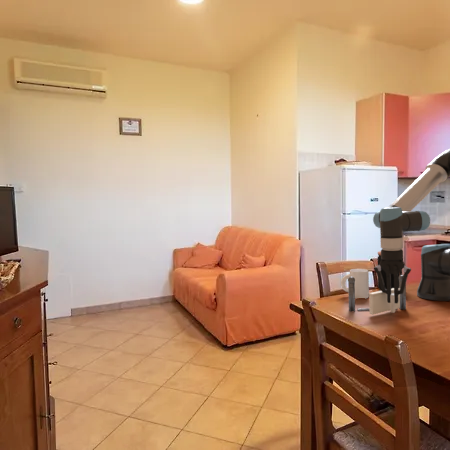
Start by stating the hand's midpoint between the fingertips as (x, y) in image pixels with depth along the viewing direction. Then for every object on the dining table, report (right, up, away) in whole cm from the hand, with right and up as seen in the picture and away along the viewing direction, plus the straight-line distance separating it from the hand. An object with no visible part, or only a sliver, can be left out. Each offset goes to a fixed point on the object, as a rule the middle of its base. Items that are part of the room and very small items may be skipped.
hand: (393, 311), depth 139 cm
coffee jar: (+16, +1, +39) cm, 42 cm away
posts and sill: (-2, -1, +9) cm, 9 cm away
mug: (-4, 0, +30) cm, 30 cm away
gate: (-1, -1, +4) cm, 4 cm away
